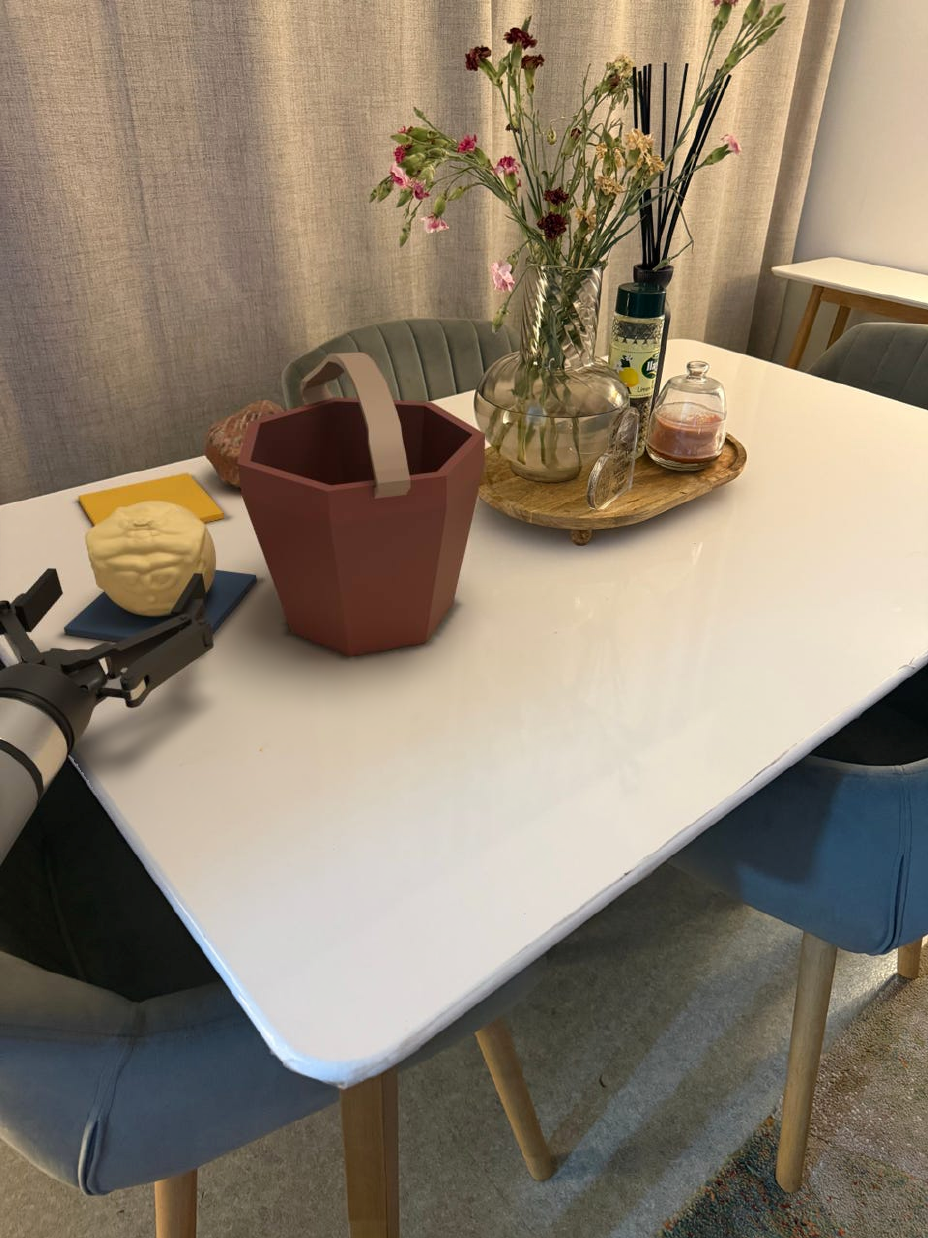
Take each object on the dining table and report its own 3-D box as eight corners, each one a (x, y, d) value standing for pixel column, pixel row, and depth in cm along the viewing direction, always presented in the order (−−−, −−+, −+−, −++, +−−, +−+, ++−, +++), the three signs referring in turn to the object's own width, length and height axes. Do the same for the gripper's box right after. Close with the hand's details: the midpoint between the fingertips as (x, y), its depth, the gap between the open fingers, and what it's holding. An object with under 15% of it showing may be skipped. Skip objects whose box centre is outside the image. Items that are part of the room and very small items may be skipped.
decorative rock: (264, 452, 125) (255, 383, 120) (322, 472, 120) (316, 400, 115) (191, 484, 116) (178, 410, 111) (250, 506, 111) (240, 430, 106)
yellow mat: (106, 546, 102) (105, 540, 102) (79, 501, 112) (77, 495, 111) (224, 518, 108) (223, 512, 108) (188, 477, 118) (187, 472, 118)
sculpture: (94, 636, 85) (68, 536, 79) (116, 574, 95) (94, 481, 89) (216, 627, 87) (200, 529, 81) (225, 567, 97) (211, 475, 91)
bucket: (276, 554, 101) (248, 331, 87) (469, 546, 103) (471, 326, 89) (255, 684, 80) (215, 420, 67) (496, 671, 82) (505, 411, 69)
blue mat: (65, 634, 87) (63, 627, 87) (139, 565, 98) (138, 559, 98) (196, 653, 84) (195, 647, 84) (257, 581, 96) (256, 574, 95)
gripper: (-131, 765, 66) (6, 612, 84) (197, 779, 65) (266, 622, 83) (-169, 685, 62) (-16, 543, 80) (180, 699, 61) (256, 552, 79)
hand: (128, 583), depth 82 cm, fingers open, 13 cm apart
